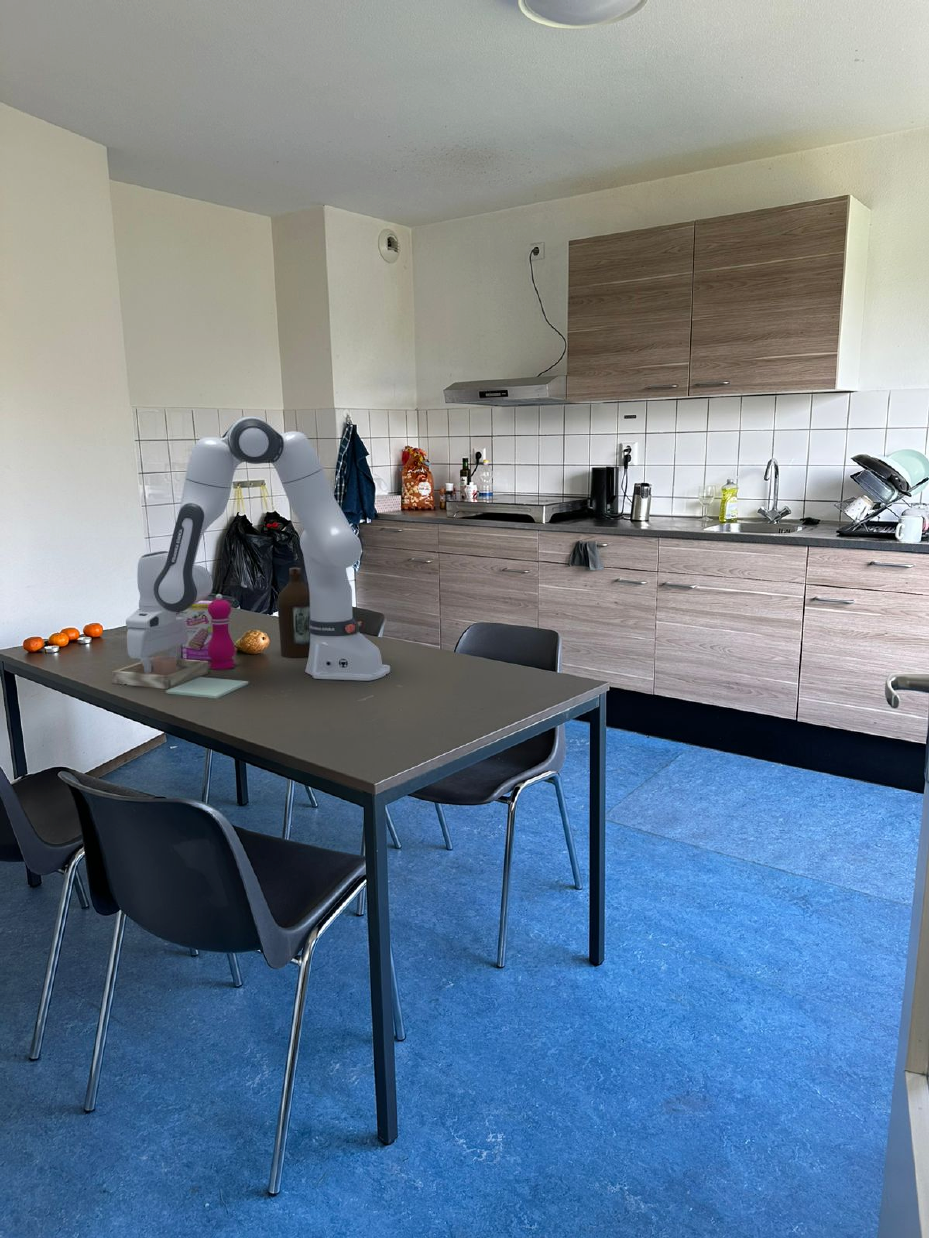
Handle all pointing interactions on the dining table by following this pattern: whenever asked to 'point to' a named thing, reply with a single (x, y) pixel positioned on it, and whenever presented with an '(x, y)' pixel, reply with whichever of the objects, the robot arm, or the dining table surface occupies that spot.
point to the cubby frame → (139, 678)
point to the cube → (163, 665)
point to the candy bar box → (197, 632)
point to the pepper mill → (220, 635)
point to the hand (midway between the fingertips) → (160, 668)
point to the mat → (207, 687)
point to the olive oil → (294, 617)
